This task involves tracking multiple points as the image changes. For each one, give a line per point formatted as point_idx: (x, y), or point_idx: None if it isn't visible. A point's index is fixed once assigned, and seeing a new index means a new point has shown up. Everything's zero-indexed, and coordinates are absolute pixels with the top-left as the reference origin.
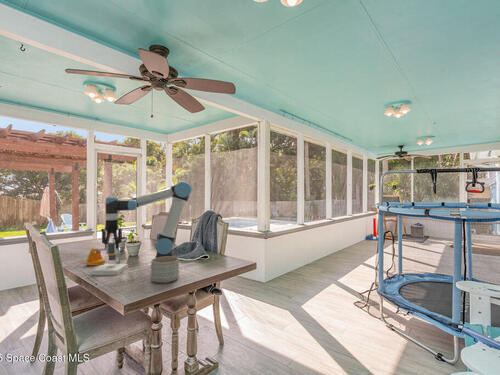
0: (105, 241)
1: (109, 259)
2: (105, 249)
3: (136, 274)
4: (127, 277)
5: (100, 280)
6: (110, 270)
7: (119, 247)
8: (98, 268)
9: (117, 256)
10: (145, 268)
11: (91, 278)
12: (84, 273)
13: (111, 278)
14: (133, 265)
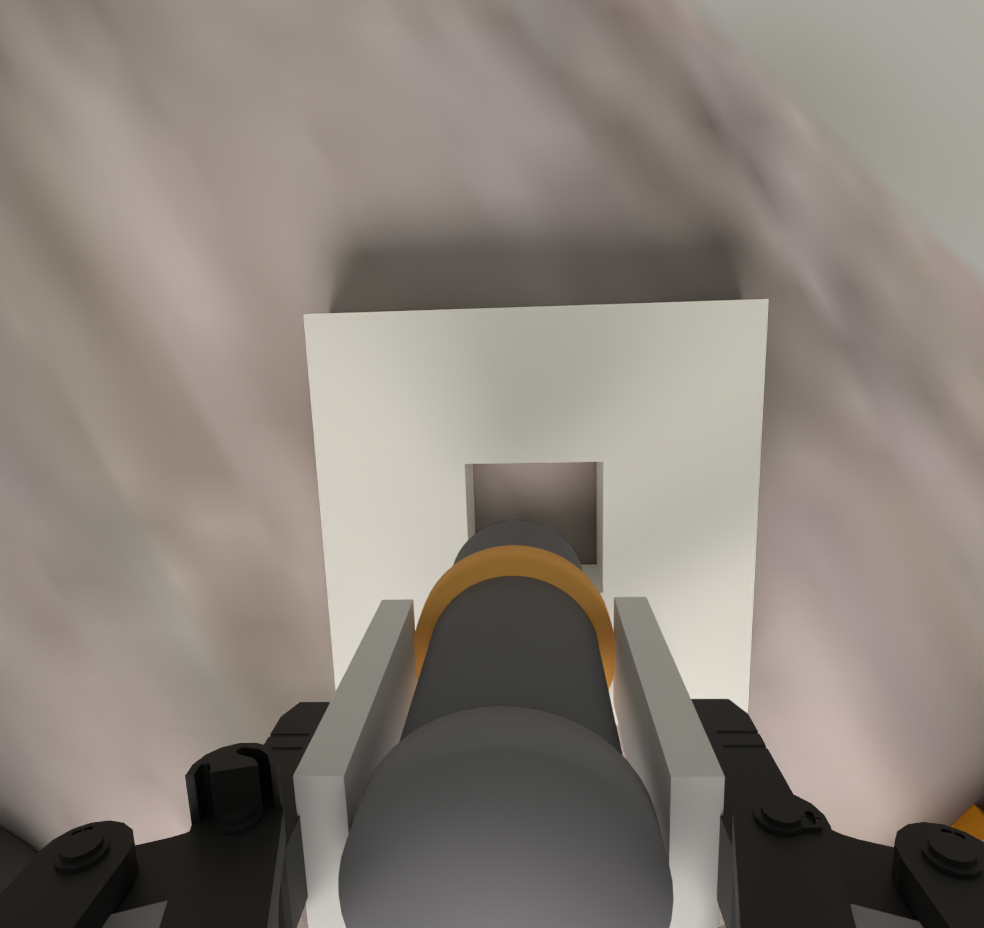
0: (829, 901)
1: (539, 529)
2: None
3: (45, 362)
4: (96, 200)
5: (444, 11)
6: (424, 311)
7: None
8: (718, 431)
9: None
10: (78, 668)
11: (657, 113)
12: (928, 386)
13: (321, 132)
14: None
